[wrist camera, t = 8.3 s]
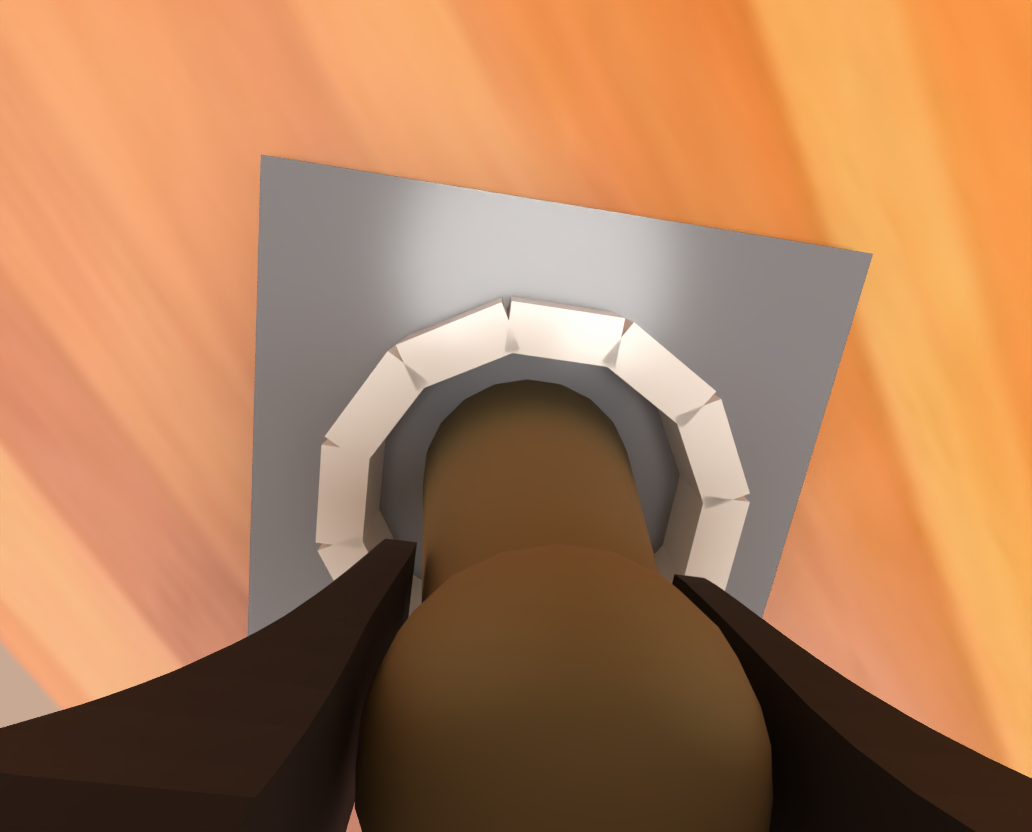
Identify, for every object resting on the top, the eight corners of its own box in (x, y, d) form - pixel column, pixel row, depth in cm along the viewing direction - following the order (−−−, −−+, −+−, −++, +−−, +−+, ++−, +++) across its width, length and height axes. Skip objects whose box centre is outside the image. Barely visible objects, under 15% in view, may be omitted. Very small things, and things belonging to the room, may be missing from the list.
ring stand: (716, 720, 20) (750, 793, 17) (256, 669, 19) (215, 738, 16) (854, 254, 16) (928, 252, 13) (273, 160, 15) (221, 137, 12)
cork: (588, 594, 17) (727, 1119, 7) (399, 542, 17) (223, 1030, 6) (661, 416, 16) (985, 725, 5) (457, 351, 15) (355, 555, 5)
